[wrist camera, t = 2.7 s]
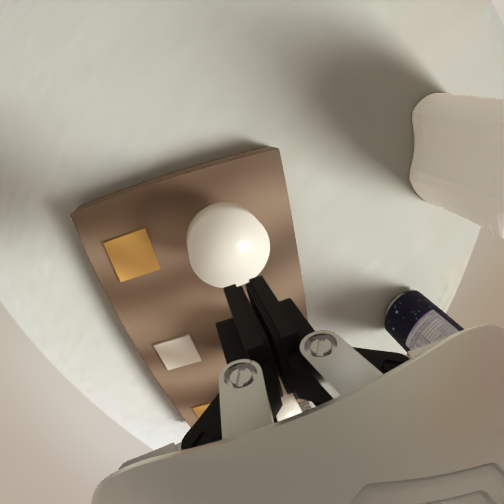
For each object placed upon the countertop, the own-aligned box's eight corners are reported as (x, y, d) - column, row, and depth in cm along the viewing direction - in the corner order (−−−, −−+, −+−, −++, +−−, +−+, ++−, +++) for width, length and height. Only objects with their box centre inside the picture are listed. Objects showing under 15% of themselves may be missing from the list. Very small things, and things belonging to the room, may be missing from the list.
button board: (78, 206, 18) (69, 215, 16) (269, 146, 20) (279, 149, 18) (194, 421, 30) (197, 436, 28) (309, 384, 32) (317, 397, 30)
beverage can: (377, 335, 32) (439, 405, 21) (382, 295, 29) (458, 367, 19) (413, 318, 33) (475, 378, 22) (420, 280, 30) (494, 339, 20)
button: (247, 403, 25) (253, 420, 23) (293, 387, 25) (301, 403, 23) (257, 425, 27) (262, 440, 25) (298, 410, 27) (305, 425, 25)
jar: (410, 84, 21) (563, 98, 7) (468, 102, 23) (586, 127, 9) (405, 206, 25) (537, 278, 12) (461, 202, 27) (567, 256, 14)
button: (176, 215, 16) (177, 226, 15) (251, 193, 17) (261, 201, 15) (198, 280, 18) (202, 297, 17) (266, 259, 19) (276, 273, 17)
